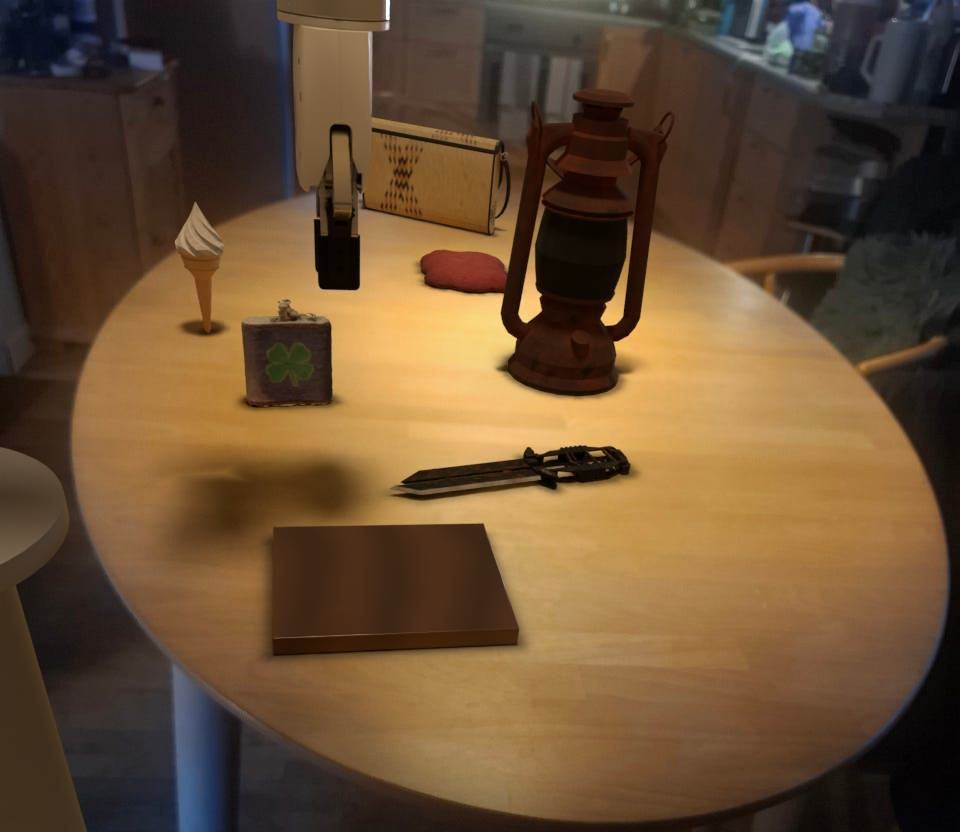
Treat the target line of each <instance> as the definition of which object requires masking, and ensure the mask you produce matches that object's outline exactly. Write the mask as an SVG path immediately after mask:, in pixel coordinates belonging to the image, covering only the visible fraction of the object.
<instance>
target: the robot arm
mask: <svg viewBox="0 0 960 832" xmlns="http://www.w3.org/2000/svg"><path fill="white" fill-rule="evenodd" d="M276 9H277V10H276V11H277V12H276V15H277V16H276V17H277V20H278V21H279V22H284V23H286V24H287V23H288V24H293V37H292V46H293V47H292V75H293V76H292V80H293V81H292V82H293V83H292V85H293V87H292V88H293V111H294V112H293V114H294V139H295V141H294V142H295V169H296V174H297V180H298V184H299V187H300V188H301V189H302V190H303V191H305V192H306V193H310V191H311V187H315V216H316V218H313V238H314V239H313V240H314V242H313V243H314V244H313V245H314V268H315V269H314V270H315V272H316V274H317V284H318V287H319V288H320V290H323V291H358V290H359V289H360V287H361V234H359V195H362V193H364V192H365V191H366V190H367V189H368V187H369V176H370V157H371V132H372V117H373V32H386V31H389V30H390V19H391V0H276Z"/></svg>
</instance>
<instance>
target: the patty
mask: <svg viewBox="0 0 960 832" xmlns="http://www.w3.org/2000/svg"><path fill="white" fill-rule="evenodd" d="M419 262H420V269H421V271H422V272H423V273H425V275H424V276H423V277H424V278H423V279H424V282H425V283H426V284H427V285H429V286H431V287H435V288H440V289H441V288H442V289H454V290H457V291H461V292H462V291H463V292H470V293H487V292H497V293H504V290H505V285H506V279H507V273H508V271H506V265H505V263H504V262H503V261H502V260H501V259H499V257H497V256H494V255H492V254H490V253H486V252H482V251H473V250H472V251H469V250H467V251H459V250H458V251H456V250H450V249H436V250H433V251H431V252H429V253H426V254H424V255H423V256H421V258H420V260H419Z"/></svg>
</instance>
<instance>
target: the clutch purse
mask: <svg viewBox="0 0 960 832" xmlns="http://www.w3.org/2000/svg"><path fill="white" fill-rule="evenodd" d="M505 146H506V145H505V142H504V141H503V140H502V139H501V140H499V139H493V138H488V137H482V136H477V135H472V134H466V133H460V132H455V131H449V130H445V129H444V130H443V129H438V128H433V127H427V126H421V125H416V124H412V123H411V124H410V123H405V122H400V121H395V120H389V119H383V118H378V117H373V116H372V132H371V157H370V176H369V187H368V189H367V190H366V191H365V192H364V193H362V194H361V196H362V198H361V199H362V205H363V207H364V209H373V210H377V211H382V212H387V213H392V214H396V215H401V216H405V217H410V218H415V219H419V220H424V221H429V222H433V223H437V224H438V223H439V224H443V225H448V226H452V227H457V228H462V229H466V230H470V231H475V232H479V233H484V234H488V235H490V236H491V235H492V234H493V231H494V228H495V223H496V219H499V218H500V217H501V216H502V215H503V214H504V213H505V211H506V210H507V207H508V204H509V201H510V196H511V189H512V187H511V185H512V184H511V183H512V182H511V181H512V180H511V169H510V165H509V162H508V160H507V159H508V157H509V153H508V152H507V151H505V149H506V148H505ZM505 154H506V157H505ZM504 171H505V181H506V189H505V191H506V192H505V197H504V203H503V205H502V208H501V210H500V212H499V213H498V214H497V208H498V207H497V205H498V193H499V189H500V187H501V185H502V182H503V176H504Z"/></svg>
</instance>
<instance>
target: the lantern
mask: <svg viewBox="0 0 960 832" xmlns="http://www.w3.org/2000/svg"><path fill="white" fill-rule="evenodd" d="M572 100H573V101H575V102H578V103H581V106H582V111H579V112H574V113H572V116H571V117H572V118H571V122H570V121H567V122H565V121H564V122H545V123H544V118H543V117H542V114H541V109H540V107H539V104H538V102H537V101H536V99H535V100H532V101H531V104H530V109H531V110H530V111H531V118H532V122H531V124H530V128H529V130H528V131H527V133H526V134H525V142H526V149H527V151H526V152H527V160H526V165H525V170H524V177H523V183H522V188H521V194H520V199H519V204H518V209H517V212H518V213H517V217H516V222H515V229H514V234H513V240H512V244H511V245H512V246H511V250H510V251H511V252H510V258H509V263H508V267H507V279H506V285H505V290H504V292H503V297H502V302H501V308H500V318H501V322H502V325H503V327H504V329H505V330H506V332H507V334H509V335H510V336H512V337H513V338H515V339H516V341H515V346H514V352H513V353H512V354H511V356H510V357H509V358H508V359H507V369H508V370H507V371H508V373H509V374H510V376H512V377H513V379H514V380H516V381H518V382H519V383H521V384H522V385H525V386H527V387H530V388H532V389H535V390H538V391H541V392H546V393H551V394H556V395H561V396H563V395H564V396H575V397H577V396H593V395H597V394H602V393H605V392H608V391H610V390H612V389H613V388H614V387H615V386H616V385H617V382H618V380H619V372H618V369H617V367H616V366H615V365H616V360H617V349H616V345H615V342H616V343H617V342H620V341H621V340H623V339H626V338H627V337H629V336H630V334H631V333H633V332H634V330H635V329H636V327H637V325H638V324H639V322H640V319H641V317H642V316H641V315H642V308H643V300H644V292H645V285H646V277H647V270H648V261H649V252H650V246H651V238H652V230H653V223H654V215H655V207H656V199H657V191H658V182H659V175H660V169H661V167H660V166H661V164H662V162H663V159H664V157H665V154H666V152H667V150H668V148H669V147H668V142H667V139H668V137H669V136H670V134H671V131H672V130H673V127H674V124H675V120H676V115H675V114H676V113H675V112H674V111H673V110H668V111H667V112H666V113H665V114H664V115H663V116H662V118H661V119H660V121H659V123H658V124H657V125H656V126H655V127H654V128H653V130H650V129H644V128H639V127H634V126H629V124H630V120H629V119H628V118H626V117H622V116H621V115H622V113H623V111H624V109H629V108H634V107H635V104H636V100H635V99H634V98H632V97H631V96H630V95H628V94H627V93H625V92H621V91H618V90H613V89H612V90H611V89H605V88H593V87H592V88H590V87H587V88H582V89H580V90H578V91H576V92H574V93H572ZM669 116H670V117H671V118H670V122H669V126H668V129H667V131H666V133H664V129H663V124H664V122H665V121H666V119H667V118H668V117H669ZM564 146H565V149H564V151H563V152H562V153H561V154H560V156H558V158H556V159H554V158H552V157H550V156H551V155H552V154H553V153H554V152H555V151H556V150H558V149H560V148H562V147H564ZM628 151H630V152H631V153H633V154H632V155H631V156H630V157H628V158H627V153H628ZM638 161H639V162H640V168H639V174H638V175H639V176H638V186H637V193H636V201H635V202H636V203H635V204H634V203H633V201H632V200H631V198H630V197H629V195H628V194H627V193H626V192H625V191H624V189H622V187H620V186H619V185H618V179H619V177H620V178H621V177H627V176H631V175H633V173H634V172H633V169H632V167H631V166H633V165H634V164H635V163H637V162H638ZM547 166H548V168H549V169H551V171H552V172H554V174H556V175H557V176H558V177H559V179H560V181H558V182H556V183H555V184H553V185H552V186H550V187H549V188H547V190H546V191H544V192H543V193H542V190H543V185H544V180H545V175H546V169H547ZM541 197H542V199H541ZM540 202H541V205H542V206H544V210H543V213H542V216H541V219H540V223H539V226H538V230H537V235H536V239H535V243H534V271H535V273H534V274H535V283H534V285H535V289H536V291H537V292H538V293H539V294H540V296H539V303H540V308H541V311H540V312H539V313H537V314H536V315H535V316H534V317H533V318H531V319H529V320H528V322H526V321H523V320H522V318H521V317H520V315H519V313H520V309H521V308H520V307H521V304H522V303H521V301H522V297H523V292H524V286H525V281H526V276H527V271H528V266H529V259H530V255H531V251H532V250H531V249H532V245H533V239H534V234H535V228H536V223H537V218H538V217H537V216H538V212H539V206H540ZM634 209H635V211H634ZM633 215H634V219H633V227H632V237H631V245H630V251H629V252H630V254H629V261H628V270H627V278H626V286H625V287H626V288H625V294H624V295H625V296H624V305H623V306H624V307H623V312H622V313H623V314H622V317H621V319H619V321H618V322H617V323H615V324H611V325H610V324H609V325H606V324H605V323H604V322H603V320H602V317H603V315H604V313H605V312H606V310H607V307H608V306H607V303H609V302H611V301H612V300H613V298H614V296H615V295H616V289H617V286H618V283H619V280H620V278H621V275H622V271H623V269H624V266H625V262H626V259H627V250H628V234H629V233H628V232H629V231H628V230H629V229H628V221H629V219H628V218H630V217H632V216H633Z"/></svg>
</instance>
